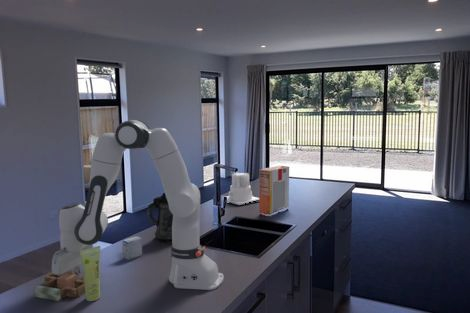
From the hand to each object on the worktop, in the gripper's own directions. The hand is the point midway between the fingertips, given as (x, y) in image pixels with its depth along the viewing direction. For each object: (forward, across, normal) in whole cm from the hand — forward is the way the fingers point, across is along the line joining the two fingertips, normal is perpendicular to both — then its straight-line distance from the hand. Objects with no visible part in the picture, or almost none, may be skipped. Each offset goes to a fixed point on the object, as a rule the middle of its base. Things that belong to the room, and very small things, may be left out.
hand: (74, 276), depth 157 cm
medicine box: (+2, +30, -8) cm, 31 cm away
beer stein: (+2, +57, -13) cm, 59 cm away
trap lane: (+2, -3, 0) cm, 4 cm away
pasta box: (+2, +128, -55) cm, 139 cm away
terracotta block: (+2, -4, 0) cm, 5 cm away
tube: (+2, -10, -16) cm, 19 cm away
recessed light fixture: (+2, +150, -25) cm, 152 cm away
